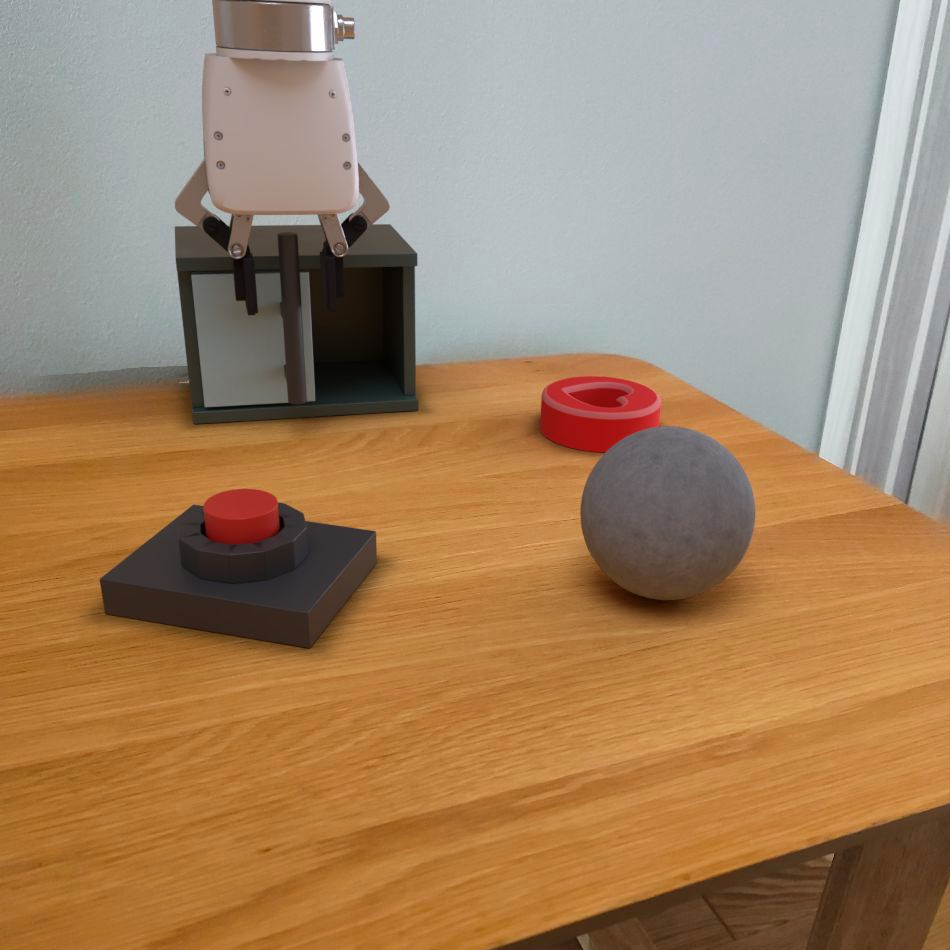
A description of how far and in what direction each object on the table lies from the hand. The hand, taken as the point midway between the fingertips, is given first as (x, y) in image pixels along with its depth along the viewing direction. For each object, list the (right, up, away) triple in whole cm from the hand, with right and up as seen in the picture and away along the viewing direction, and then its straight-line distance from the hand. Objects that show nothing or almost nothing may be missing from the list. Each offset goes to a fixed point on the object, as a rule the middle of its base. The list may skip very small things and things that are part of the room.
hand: (290, 306), depth 77 cm
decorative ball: (+25, -20, -14) cm, 35 cm away
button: (+1, -17, -18) cm, 24 cm away
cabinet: (-2, -4, +14) cm, 15 cm away
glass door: (-3, -7, +5) cm, 10 cm away
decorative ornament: (+23, -8, +9) cm, 26 cm away
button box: (+1, -20, -16) cm, 25 cm away
